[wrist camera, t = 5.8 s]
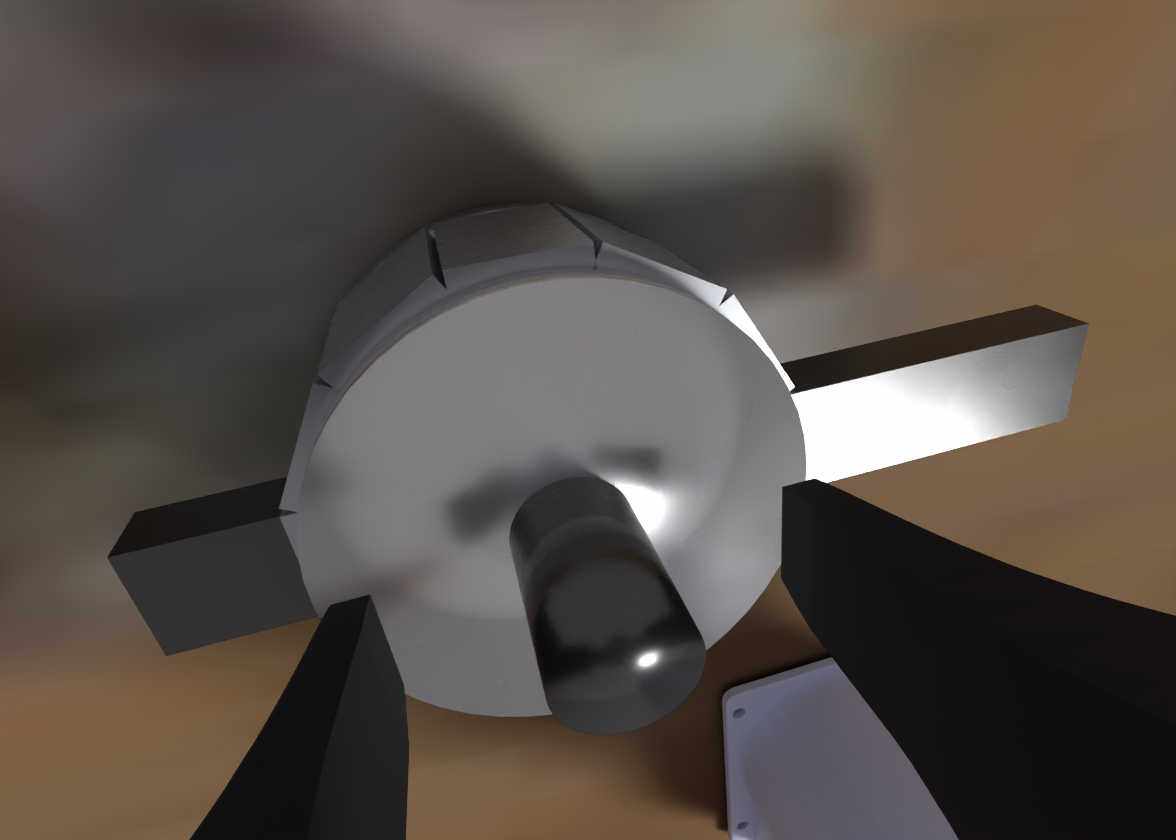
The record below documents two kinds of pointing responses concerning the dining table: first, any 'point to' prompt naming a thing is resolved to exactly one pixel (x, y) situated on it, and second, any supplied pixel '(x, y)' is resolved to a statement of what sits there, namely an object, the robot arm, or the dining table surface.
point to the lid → (554, 494)
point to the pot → (579, 239)
